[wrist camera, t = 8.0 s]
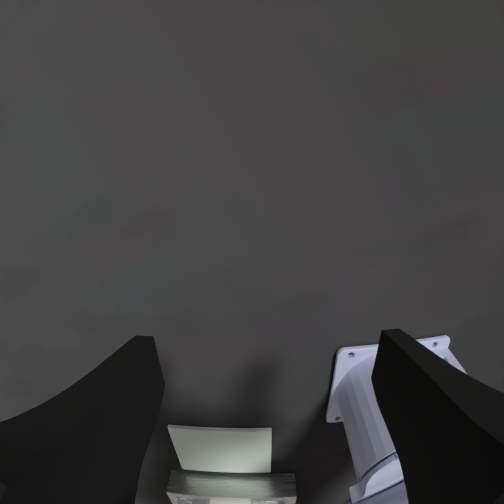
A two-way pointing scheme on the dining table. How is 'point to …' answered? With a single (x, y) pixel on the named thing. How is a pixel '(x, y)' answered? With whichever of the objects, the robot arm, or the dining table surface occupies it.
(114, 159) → the dining table surface
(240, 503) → the block
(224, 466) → the pad
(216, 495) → the case
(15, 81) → the dining table surface
